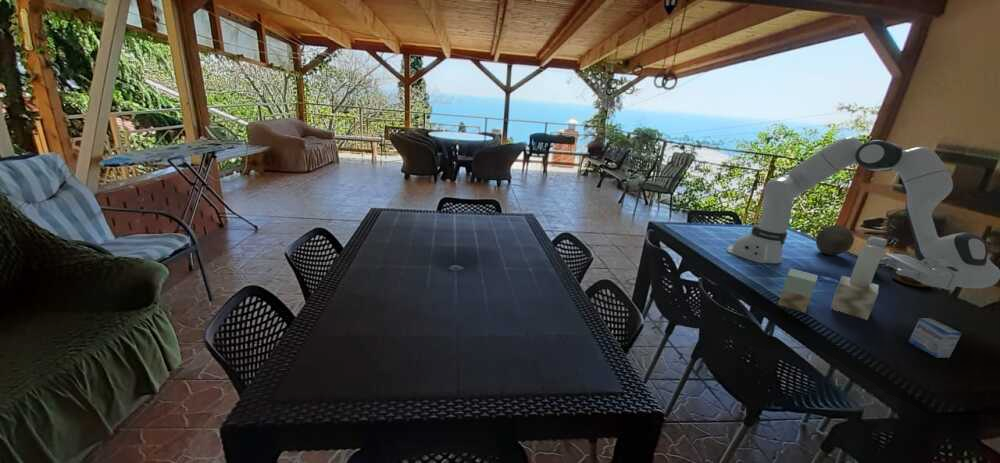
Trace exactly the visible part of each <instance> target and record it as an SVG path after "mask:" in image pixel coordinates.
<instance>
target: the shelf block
mask: <svg viewBox="0 0 1000 463" xmlns="http://www.w3.org/2000/svg"><path fill="white" fill-rule="evenodd" d="M850 278H851V276H845V275H841V276H840V279H839V282H838V285H837V288H836V291H835V293H834V296H833V299H832V302H831V305H830V308H829V309H830V310H832V309H833V310H832V311H836V312H839V311H840V312H839V313H842V312H843V314H846V315H849V316H852V317H857V318H860V319H862V320H865V321H868V320H869V318H870V315H871V312H872V310H873V307H874V305H875V302H876V301H877V298H878V295H879V284H876V283H873V282H871V284H870V287H869V288H863V287H858V286H855V285H853V284H851V283H849V280H850Z"/></svg>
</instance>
